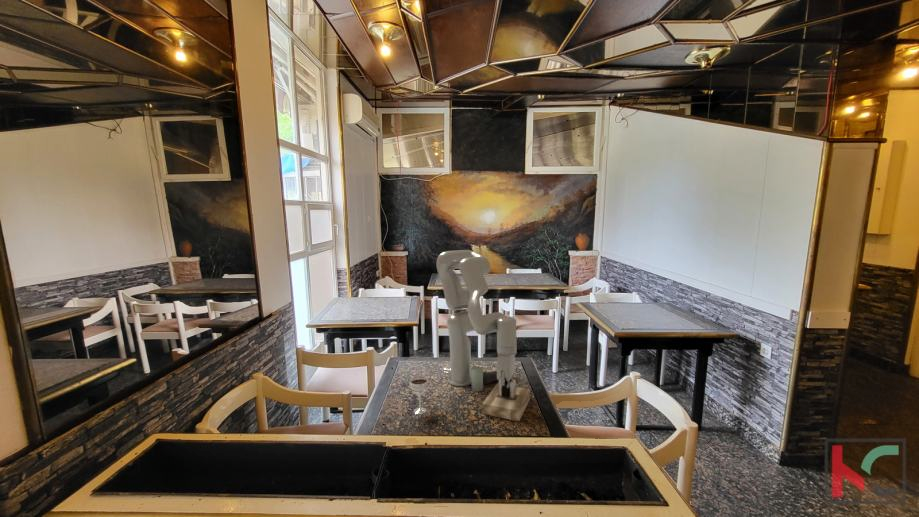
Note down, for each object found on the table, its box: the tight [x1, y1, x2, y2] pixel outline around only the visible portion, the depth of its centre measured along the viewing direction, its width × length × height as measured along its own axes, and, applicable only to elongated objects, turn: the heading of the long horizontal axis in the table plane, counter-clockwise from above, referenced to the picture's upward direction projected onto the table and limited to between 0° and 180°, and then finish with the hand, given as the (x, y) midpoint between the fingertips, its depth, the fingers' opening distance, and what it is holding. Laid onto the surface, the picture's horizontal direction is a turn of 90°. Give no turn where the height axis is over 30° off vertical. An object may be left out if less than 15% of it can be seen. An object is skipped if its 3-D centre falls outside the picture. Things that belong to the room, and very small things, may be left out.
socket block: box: [481, 382, 531, 422], centre depth 132 cm, size 14×18×4 cm
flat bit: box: [498, 378, 517, 400], centre depth 132 cm, size 6×3×9 cm, turn 66°
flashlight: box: [483, 370, 515, 385], centre depth 154 cm, size 15×5×5 cm, turn 114°
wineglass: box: [410, 376, 429, 415], centre depth 129 cm, size 7×7×12 cm
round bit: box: [471, 366, 484, 393], centre depth 146 cm, size 5×5×9 cm
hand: (507, 394), depth 132 cm, fingers closed on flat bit, 3 cm apart
